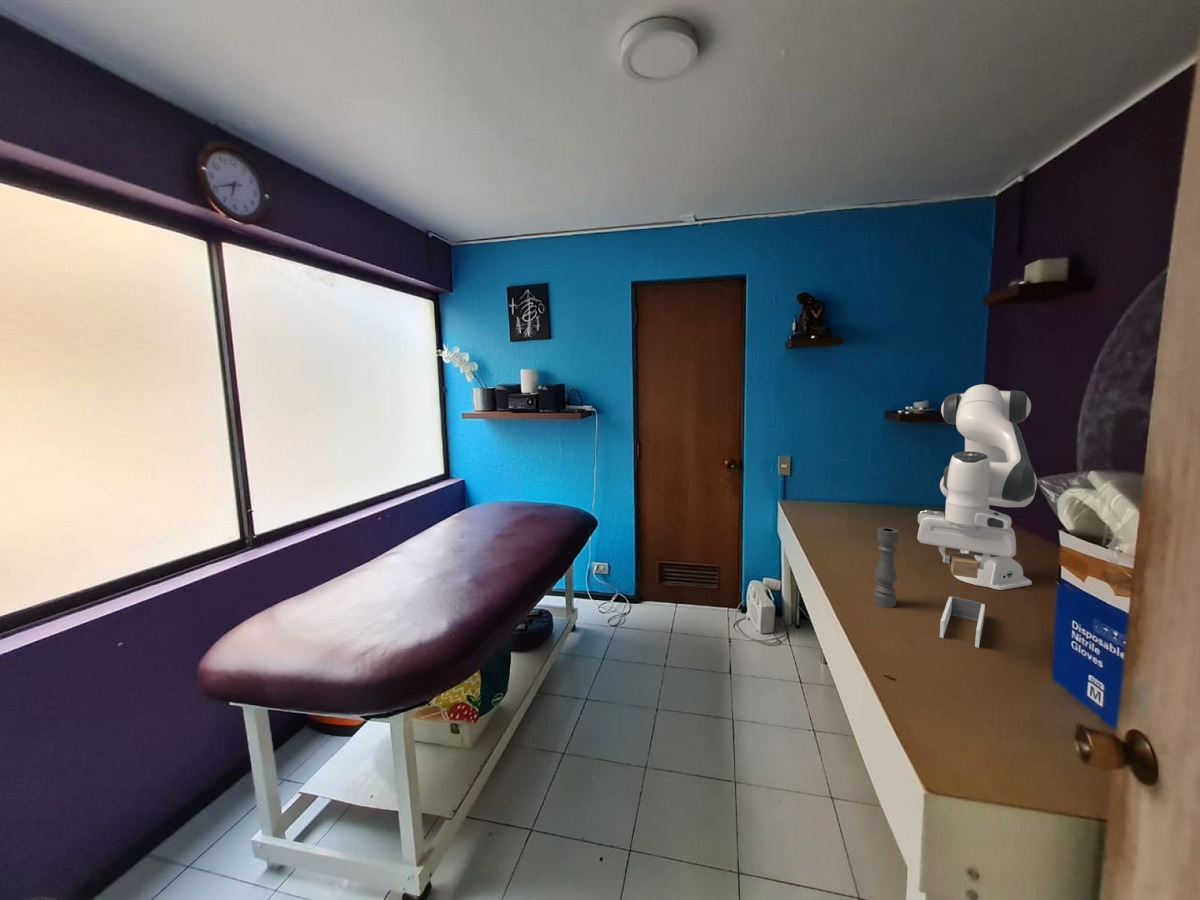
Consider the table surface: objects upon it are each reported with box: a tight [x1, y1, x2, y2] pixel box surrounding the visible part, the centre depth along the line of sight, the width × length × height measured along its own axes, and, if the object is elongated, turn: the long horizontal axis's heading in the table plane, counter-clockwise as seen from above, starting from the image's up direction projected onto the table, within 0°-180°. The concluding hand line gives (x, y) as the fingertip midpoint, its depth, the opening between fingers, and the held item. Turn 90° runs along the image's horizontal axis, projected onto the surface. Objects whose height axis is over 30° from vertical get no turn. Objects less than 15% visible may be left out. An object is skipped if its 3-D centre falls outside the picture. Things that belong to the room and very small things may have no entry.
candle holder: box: [873, 526, 899, 609], centre depth 149 cm, size 6×6×25 cm
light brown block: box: [948, 551, 978, 578], centre depth 121 cm, size 7×5×4 cm
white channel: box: [939, 595, 986, 648], centre depth 134 cm, size 20×9×5 cm, turn 137°
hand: (962, 565), depth 121 cm, fingers closed on light brown block, 5 cm apart
